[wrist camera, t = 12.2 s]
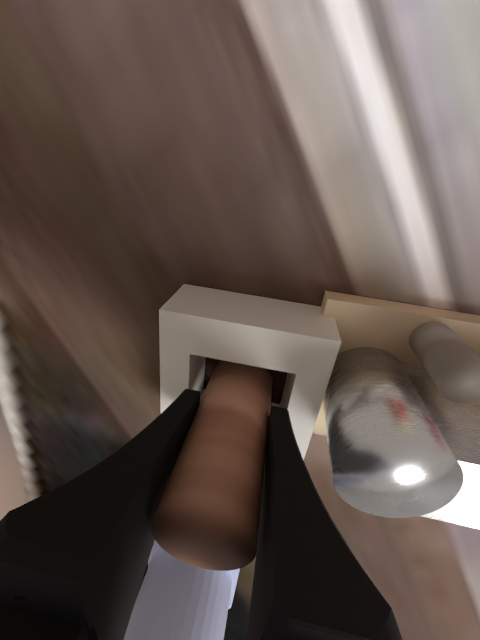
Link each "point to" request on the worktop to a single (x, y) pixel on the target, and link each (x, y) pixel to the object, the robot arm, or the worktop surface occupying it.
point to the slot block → (249, 346)
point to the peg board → (387, 328)
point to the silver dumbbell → (401, 441)
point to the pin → (219, 474)
